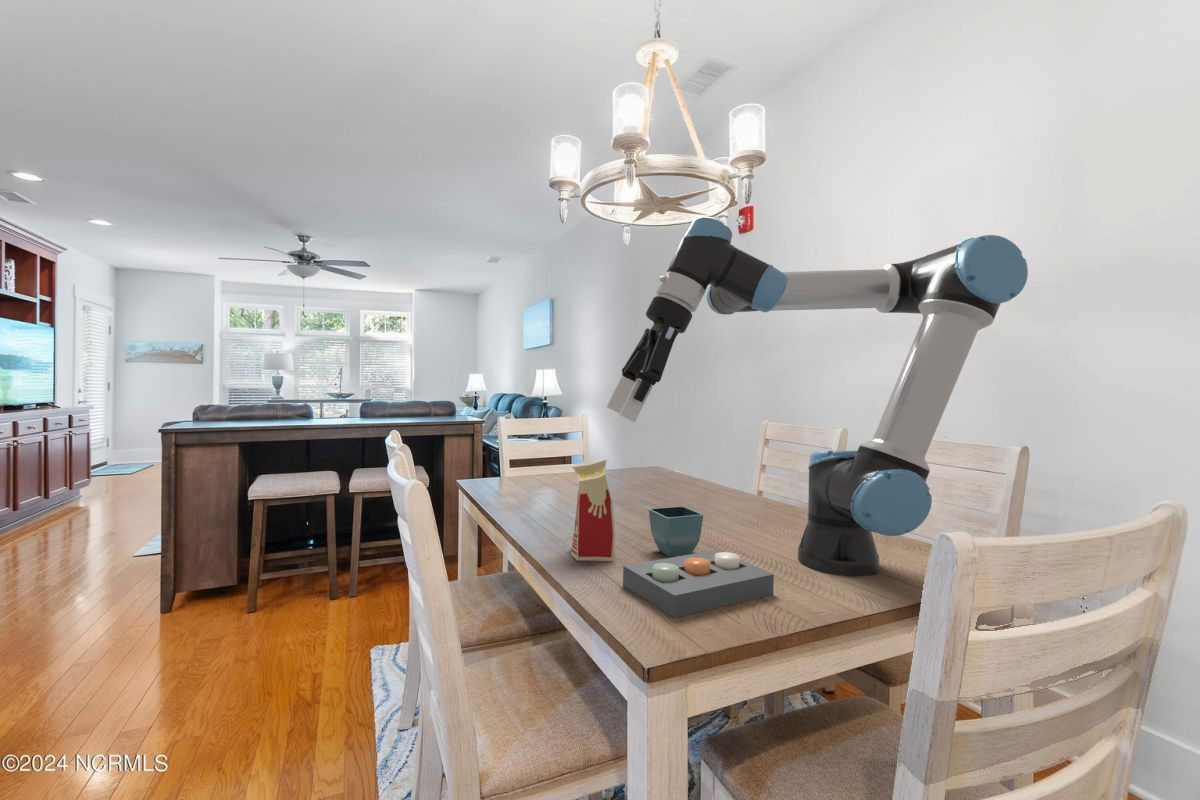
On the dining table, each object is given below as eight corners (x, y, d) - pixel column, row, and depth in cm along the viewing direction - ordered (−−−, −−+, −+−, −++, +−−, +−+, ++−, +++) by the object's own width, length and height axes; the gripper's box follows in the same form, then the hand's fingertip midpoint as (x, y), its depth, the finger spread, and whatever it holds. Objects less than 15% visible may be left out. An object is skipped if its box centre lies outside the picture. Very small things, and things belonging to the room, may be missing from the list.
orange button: (699, 570, 97) (699, 556, 97) (715, 578, 93) (715, 563, 93) (679, 574, 95) (679, 559, 95) (695, 582, 91) (695, 567, 91)
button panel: (714, 567, 106) (715, 550, 106) (773, 594, 93) (773, 574, 92) (623, 585, 96) (623, 565, 95) (674, 618, 82) (674, 595, 82)
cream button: (727, 564, 100) (728, 551, 100) (744, 572, 96) (745, 557, 96) (709, 568, 98) (709, 554, 98) (726, 576, 94) (726, 561, 94)
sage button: (668, 576, 94) (668, 561, 94) (683, 584, 90) (684, 569, 90) (647, 580, 92) (647, 565, 91) (662, 589, 88) (662, 573, 88)
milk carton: (613, 547, 118) (614, 456, 117) (615, 561, 108) (617, 462, 108) (571, 547, 117) (572, 455, 117) (570, 561, 108) (571, 461, 108)
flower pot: (646, 549, 117) (647, 508, 117) (682, 545, 120) (683, 505, 120) (665, 561, 109) (666, 517, 109) (703, 557, 112) (704, 514, 112)
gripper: (639, 301, 105) (591, 398, 105) (675, 284, 81) (612, 411, 81) (673, 319, 106) (624, 415, 107) (718, 308, 82) (655, 433, 82)
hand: (619, 414), depth 94 cm, fingers open, 13 cm apart
